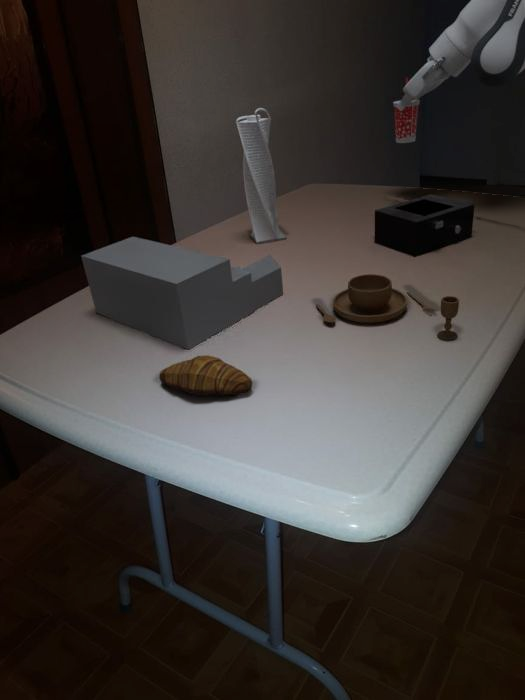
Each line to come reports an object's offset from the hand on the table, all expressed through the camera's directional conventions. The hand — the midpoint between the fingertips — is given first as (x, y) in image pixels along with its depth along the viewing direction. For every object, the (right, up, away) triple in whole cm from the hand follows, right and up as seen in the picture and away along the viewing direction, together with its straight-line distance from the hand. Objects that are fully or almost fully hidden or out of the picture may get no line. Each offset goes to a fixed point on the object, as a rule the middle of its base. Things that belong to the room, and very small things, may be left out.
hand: (403, 106), depth 132 cm
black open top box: (0, -35, -15) cm, 38 cm away
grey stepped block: (-47, -50, -32) cm, 75 cm away
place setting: (-15, -53, -44) cm, 71 cm away
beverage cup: (+1, -7, +4) cm, 8 cm away
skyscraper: (-33, -32, -4) cm, 46 cm away
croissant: (-41, -63, -57) cm, 95 cm away
